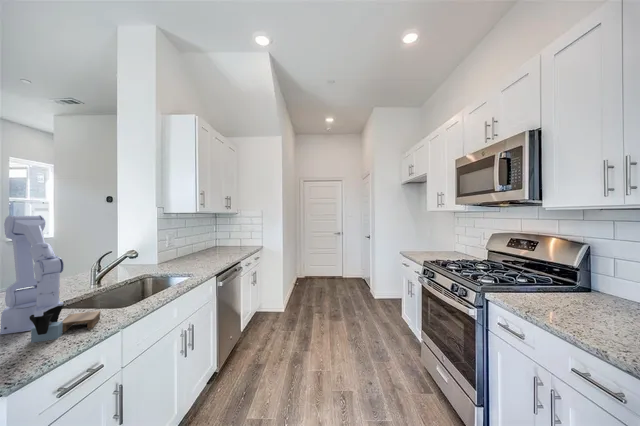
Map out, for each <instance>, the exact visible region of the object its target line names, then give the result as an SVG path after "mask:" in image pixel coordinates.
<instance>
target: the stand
mask: <svg viewBox="0 0 640 426" xmlns="http://www.w3.org/2000/svg"><path fill="white" fill-rule="evenodd" d="M100 315H101V310H96V311H86V312H78V313H70V314H68V315H67V316H66V317H64V319H62V321H63V328H62V333H66V332H68V330H70V328H71V327H72V326H73V325H79V324H86V325H87V327H86V329H87V330H89V329H90V330H91V329H93V328H94V327H95V326H96V324H97V323H98V322H99V321H100V319H101V317H100Z"/></svg>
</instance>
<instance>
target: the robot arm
mask: <svg viewBox="0 0 640 426" xmlns="http://www.w3.org/2000/svg"><path fill="white" fill-rule="evenodd" d="M3 225H4V226H3V227H4V235H5V238H7V239H10V240H11V242H12V246H13V256H14V269H15V280H16V281H15V282H13V283H12V284H10V285H9V286H8V287H7V288H6V289H5V296H4V302H5V306H6V308H4V309H3V311H2V312H1V315H0V335H6V334H7V335H8V334H15V333H21V332H22V333H23V332H31V329H32V328H33V327H34V326H35V328H36V331H37V334H38V335H42V334H46V333H47V331H48V327H49V322H51V323H52V322H59V321H58V320H59V318H60V315H61V312H62V310H63V308H64V307H65V304H64V302H63V301H61V297H60V296H59V289H60V286H61V285H60V280H61V279H60V277H61V276H60V275H61V274H62V273H63V272H64V267H65V266H64V261H63V258H61V256H59V255H56V254H55V252H54V249H53V247H52V245H51V244H50V243H47V242H46V240H45V237H44V233H43V231H44V229H45V228H46V219H45V217H44V216H43V215H13V214H12V215H11V214H10V215H8V216H5V219H4V224H3Z"/></svg>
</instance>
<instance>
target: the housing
mask: <svg viewBox="0 0 640 426" xmlns="http://www.w3.org/2000/svg"><path fill="white" fill-rule="evenodd" d="M62 328H63V320H61V321H57V322H52V323H51V322H49V327H48V331H47V333H46V334H42V335H38V334H37V331H36V328H35V326H34V327H33V328H32V329H31V331H30V343H31V344H32V343H38V342H44V341H45V342H46V341H51V340H59V338H60V337H61V336H62V335H63V332H62Z"/></svg>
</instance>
